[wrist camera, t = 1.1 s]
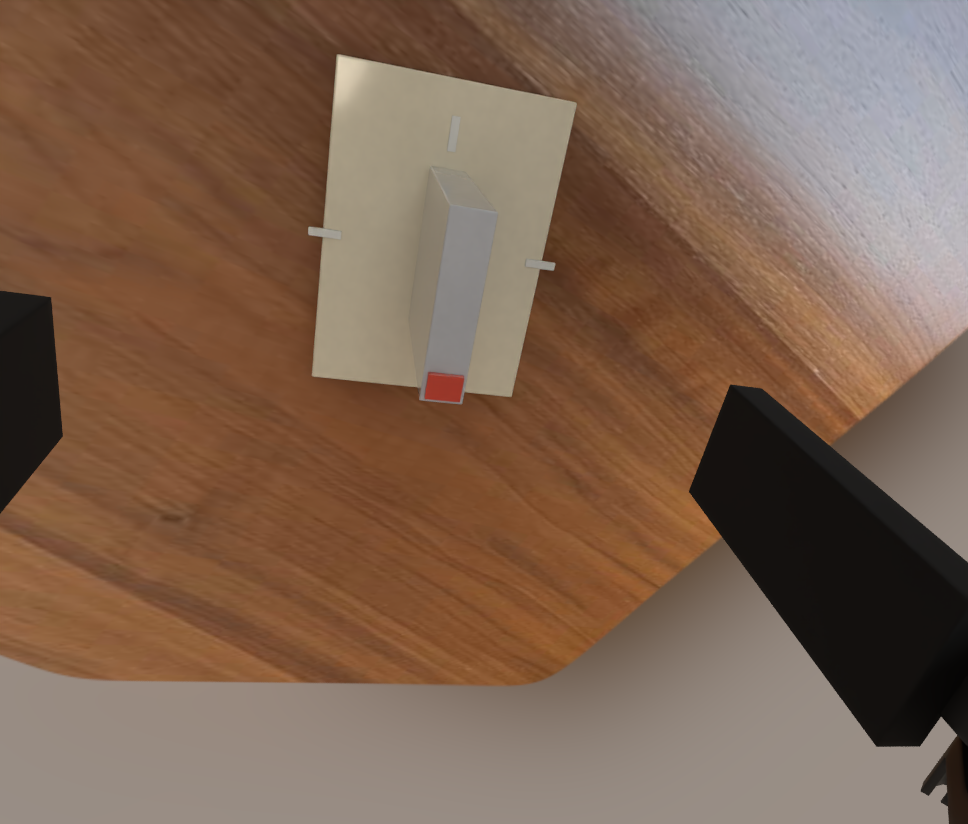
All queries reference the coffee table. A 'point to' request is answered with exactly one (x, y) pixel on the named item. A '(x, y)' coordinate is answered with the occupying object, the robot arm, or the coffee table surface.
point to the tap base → (400, 204)
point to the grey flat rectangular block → (449, 282)
